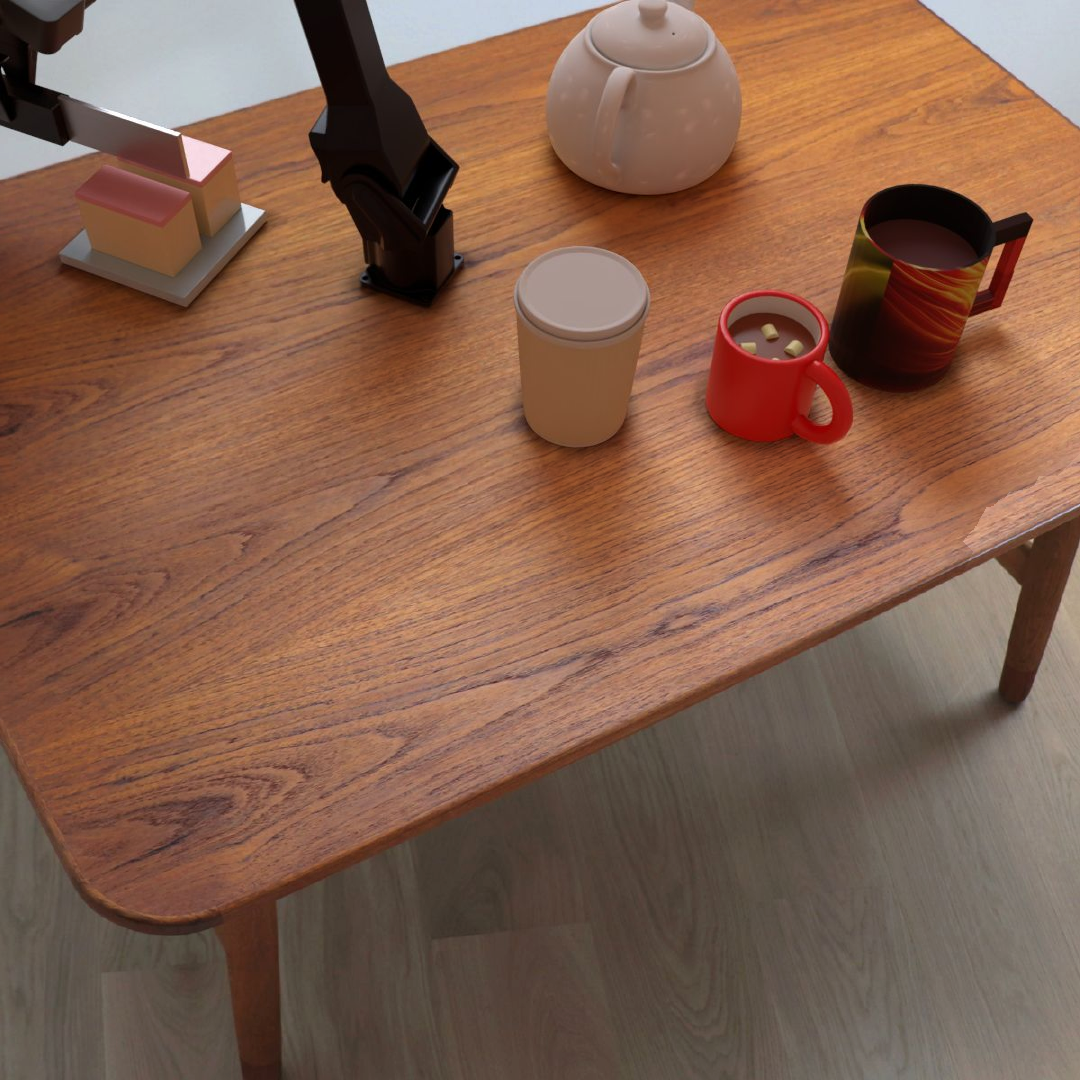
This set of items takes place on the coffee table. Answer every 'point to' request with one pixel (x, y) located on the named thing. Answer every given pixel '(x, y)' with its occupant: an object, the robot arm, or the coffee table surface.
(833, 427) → the mug
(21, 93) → the knife
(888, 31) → the coffee table surface
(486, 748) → the coffee table surface
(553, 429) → the coffee cup
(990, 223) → the mug
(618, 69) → the teapot
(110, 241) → the cake slice
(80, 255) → the cake plate
